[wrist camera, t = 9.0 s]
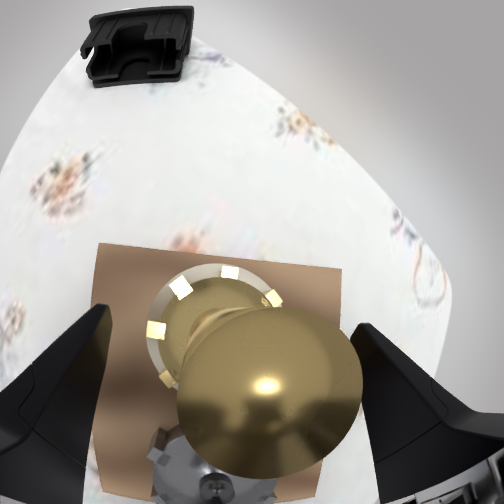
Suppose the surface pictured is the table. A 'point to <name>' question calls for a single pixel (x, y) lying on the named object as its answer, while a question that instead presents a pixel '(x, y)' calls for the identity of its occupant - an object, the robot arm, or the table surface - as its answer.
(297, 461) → the gear
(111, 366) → the carrier board
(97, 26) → the end cap
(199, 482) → the sun gear
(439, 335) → the table surface
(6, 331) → the table surface
